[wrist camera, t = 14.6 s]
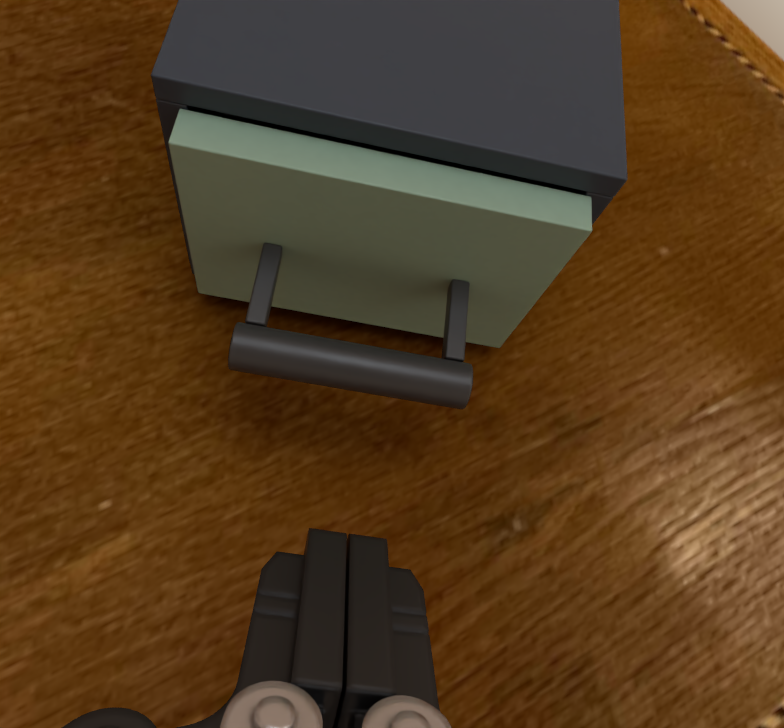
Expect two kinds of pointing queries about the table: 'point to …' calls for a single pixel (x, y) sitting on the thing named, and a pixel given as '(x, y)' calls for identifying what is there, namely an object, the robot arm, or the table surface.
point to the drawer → (364, 250)
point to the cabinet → (415, 80)
